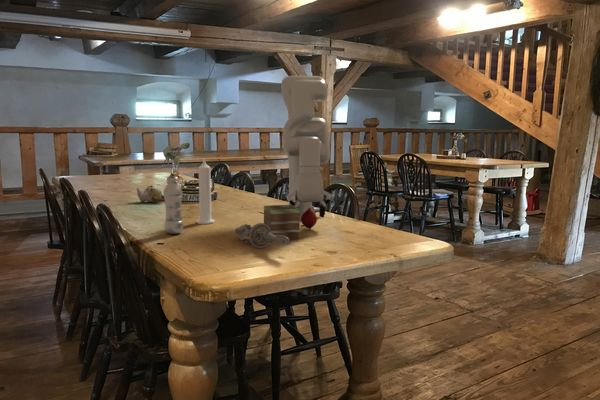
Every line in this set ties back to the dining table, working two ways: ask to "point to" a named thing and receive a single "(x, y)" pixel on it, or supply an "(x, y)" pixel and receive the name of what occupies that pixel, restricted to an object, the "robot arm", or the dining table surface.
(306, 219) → the onion
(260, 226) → the spaceship
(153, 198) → the ceramic sculpture
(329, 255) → the dining table surface
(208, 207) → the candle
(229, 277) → the dining table surface
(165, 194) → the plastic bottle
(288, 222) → the green shadow box
